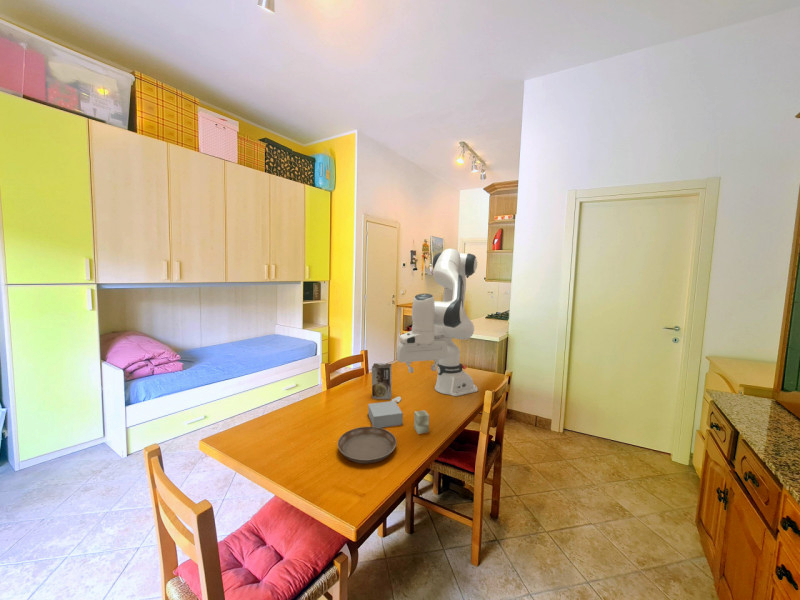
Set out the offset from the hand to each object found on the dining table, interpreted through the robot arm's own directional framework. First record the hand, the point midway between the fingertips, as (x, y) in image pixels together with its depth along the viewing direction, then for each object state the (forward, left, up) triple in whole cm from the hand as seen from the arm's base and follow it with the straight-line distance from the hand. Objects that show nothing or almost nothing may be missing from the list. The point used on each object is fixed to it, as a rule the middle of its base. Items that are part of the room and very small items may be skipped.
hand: (422, 371), depth 121 cm
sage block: (0, 0, -24) cm, 24 cm away
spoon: (+8, -24, -25) cm, 35 cm away
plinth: (+12, -12, -24) cm, 29 cm away
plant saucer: (+23, +7, -25) cm, 34 cm away
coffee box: (+8, -35, -24) cm, 43 cm away
